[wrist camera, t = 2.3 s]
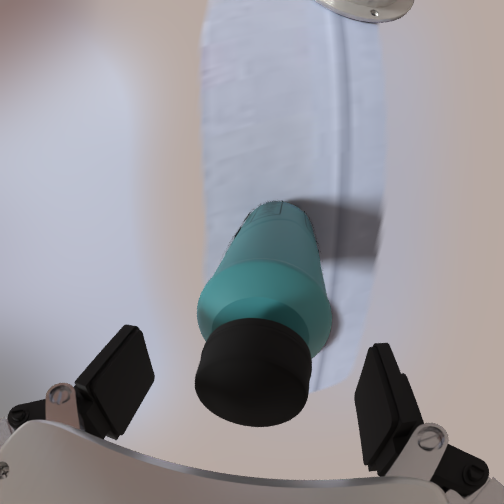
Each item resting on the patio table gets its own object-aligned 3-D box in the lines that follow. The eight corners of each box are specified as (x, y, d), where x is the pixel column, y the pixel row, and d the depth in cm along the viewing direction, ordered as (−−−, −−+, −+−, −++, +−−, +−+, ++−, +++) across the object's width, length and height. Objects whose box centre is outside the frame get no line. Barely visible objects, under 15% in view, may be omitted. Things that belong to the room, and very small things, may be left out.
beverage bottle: (249, 191, 26) (139, 298, 7) (320, 202, 25) (381, 341, 7) (242, 255, 28) (160, 425, 10) (307, 266, 27) (315, 454, 9)
